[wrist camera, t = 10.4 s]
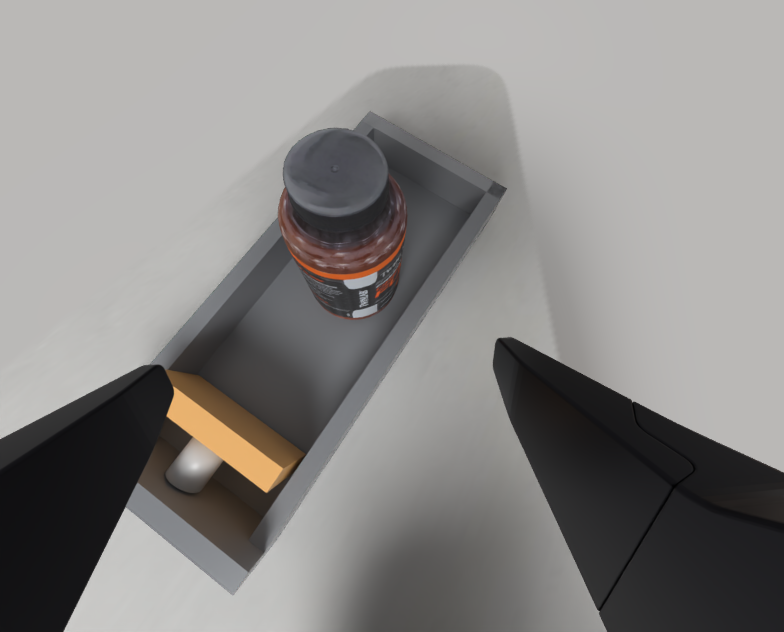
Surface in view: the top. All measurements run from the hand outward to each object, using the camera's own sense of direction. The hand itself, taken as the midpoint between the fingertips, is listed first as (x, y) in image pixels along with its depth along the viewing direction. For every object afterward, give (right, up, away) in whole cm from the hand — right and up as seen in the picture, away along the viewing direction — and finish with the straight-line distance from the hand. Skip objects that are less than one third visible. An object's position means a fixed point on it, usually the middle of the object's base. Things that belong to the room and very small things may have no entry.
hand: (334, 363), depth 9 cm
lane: (-3, +1, +14) cm, 15 cm away
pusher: (-8, -6, +11) cm, 15 cm away
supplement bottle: (-1, +4, +14) cm, 15 cm away
